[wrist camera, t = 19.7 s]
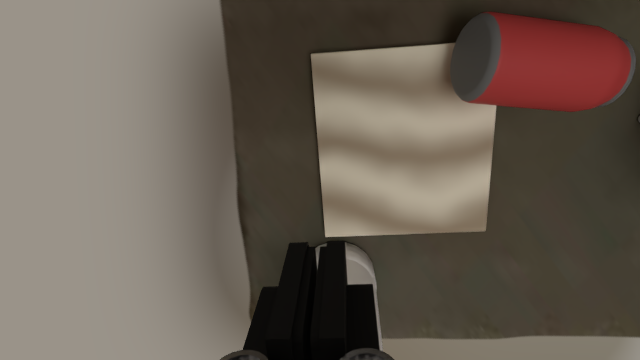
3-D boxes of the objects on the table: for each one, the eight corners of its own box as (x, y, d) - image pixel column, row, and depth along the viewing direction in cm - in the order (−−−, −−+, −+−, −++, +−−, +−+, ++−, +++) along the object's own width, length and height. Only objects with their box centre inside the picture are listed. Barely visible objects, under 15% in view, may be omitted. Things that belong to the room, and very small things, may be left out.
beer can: (445, 36, 33) (568, 51, 36) (447, 112, 33) (572, 122, 35) (494, -9, 27) (640, 12, 29) (498, 84, 26) (647, 99, 29)
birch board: (311, 53, 36) (310, 54, 34) (496, 39, 34) (501, 39, 33) (325, 231, 42) (325, 237, 41) (481, 225, 41) (485, 231, 40)
